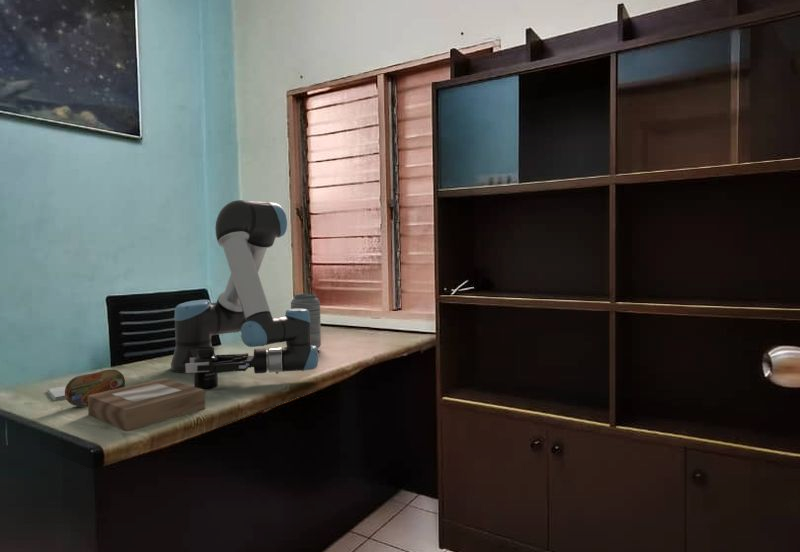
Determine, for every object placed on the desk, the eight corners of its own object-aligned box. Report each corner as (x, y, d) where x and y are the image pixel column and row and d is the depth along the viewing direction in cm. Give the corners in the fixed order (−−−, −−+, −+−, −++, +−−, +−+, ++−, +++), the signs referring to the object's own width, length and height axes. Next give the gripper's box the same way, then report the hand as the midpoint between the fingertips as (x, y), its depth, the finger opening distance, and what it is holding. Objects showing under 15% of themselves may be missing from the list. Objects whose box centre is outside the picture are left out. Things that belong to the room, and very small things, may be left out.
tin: (69, 410, 131) (68, 379, 131) (63, 409, 133) (62, 377, 133) (126, 396, 144) (125, 367, 144) (120, 394, 146) (118, 365, 145)
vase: (285, 352, 201) (284, 295, 200) (302, 347, 212) (301, 293, 210) (310, 355, 197) (309, 296, 195) (326, 349, 207) (325, 293, 206)
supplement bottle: (210, 390, 148) (208, 350, 148) (189, 389, 150) (188, 349, 149) (222, 384, 155) (221, 346, 154) (202, 383, 156) (201, 345, 156)
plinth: (88, 414, 128) (87, 395, 128) (164, 395, 144) (164, 378, 144) (126, 431, 116) (125, 409, 116) (204, 408, 132) (204, 389, 132)
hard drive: (88, 391, 145) (79, 383, 154) (54, 397, 140) (47, 388, 149) (88, 397, 145) (79, 388, 155) (54, 403, 140) (47, 393, 149)
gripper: (266, 380, 147) (182, 386, 141) (268, 365, 166) (193, 369, 161) (266, 355, 146) (181, 360, 141) (267, 342, 166) (192, 346, 160)
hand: (188, 365), depth 151 cm, fingers open, 7 cm apart
